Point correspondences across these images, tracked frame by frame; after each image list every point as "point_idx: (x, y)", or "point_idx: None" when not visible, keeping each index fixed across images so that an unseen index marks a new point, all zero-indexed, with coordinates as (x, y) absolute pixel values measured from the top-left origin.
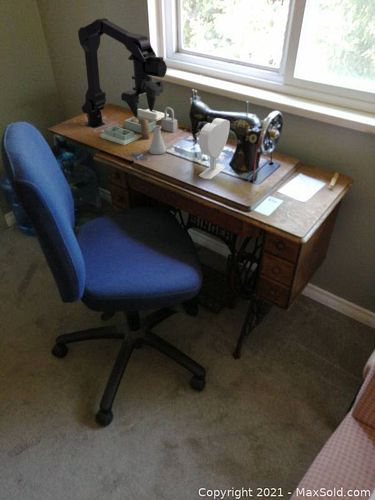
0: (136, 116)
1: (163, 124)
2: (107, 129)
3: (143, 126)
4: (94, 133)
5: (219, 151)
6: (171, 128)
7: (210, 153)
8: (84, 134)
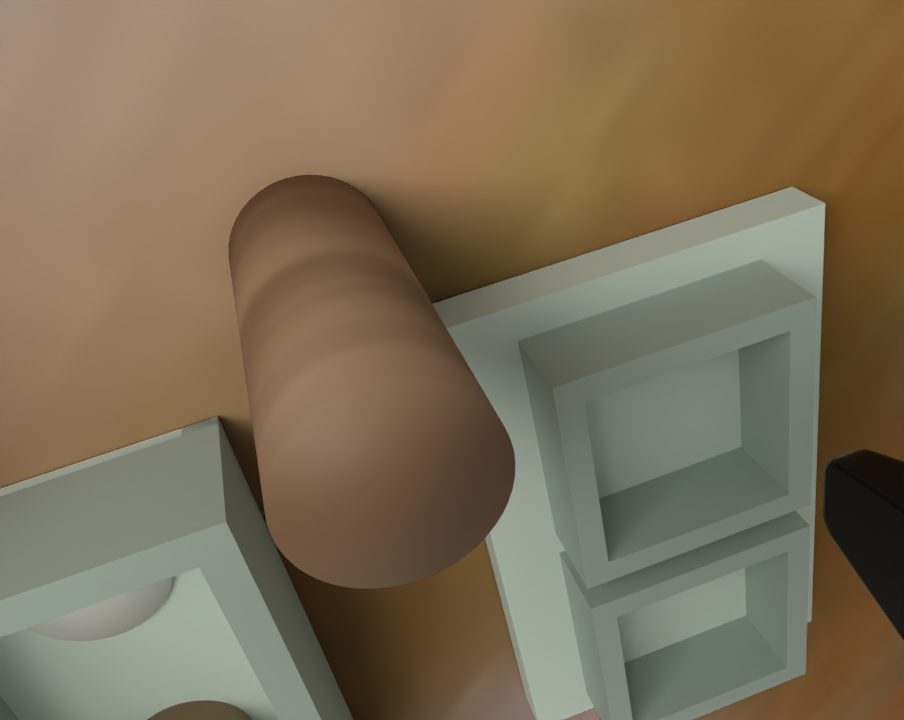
0: (891, 467)
1: None
2: (748, 668)
3: (443, 330)
4: (751, 708)
5: None
6: None
7: None
8: (836, 715)
